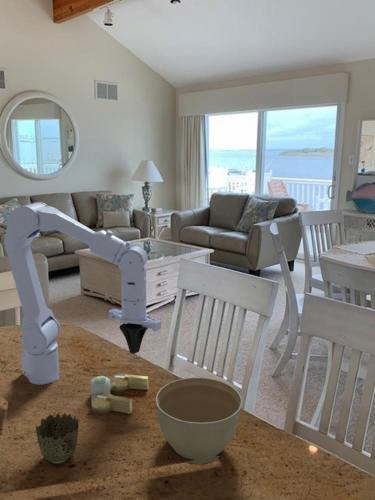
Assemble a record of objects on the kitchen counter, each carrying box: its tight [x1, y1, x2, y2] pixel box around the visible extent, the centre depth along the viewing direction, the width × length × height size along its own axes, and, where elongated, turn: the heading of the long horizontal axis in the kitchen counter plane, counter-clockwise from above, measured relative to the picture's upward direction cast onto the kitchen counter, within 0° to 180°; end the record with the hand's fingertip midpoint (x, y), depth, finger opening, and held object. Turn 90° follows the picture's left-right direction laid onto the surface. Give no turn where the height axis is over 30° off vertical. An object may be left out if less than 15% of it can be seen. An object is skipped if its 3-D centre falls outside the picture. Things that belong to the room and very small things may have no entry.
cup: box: [35, 413, 80, 464], centre depth 83 cm, size 8×7×8 cm
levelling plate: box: [89, 375, 112, 399], centre depth 105 cm, size 17×17×6 cm
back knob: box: [109, 373, 149, 393], centre depth 109 cm, size 9×5×3 cm, turn 80°
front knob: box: [90, 393, 133, 415], centre depth 99 cm, size 9×5×3 cm, turn 71°
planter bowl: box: [155, 377, 243, 465], centre depth 87 cm, size 16×16×11 cm
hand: (134, 352), depth 110 cm, fingers closed
